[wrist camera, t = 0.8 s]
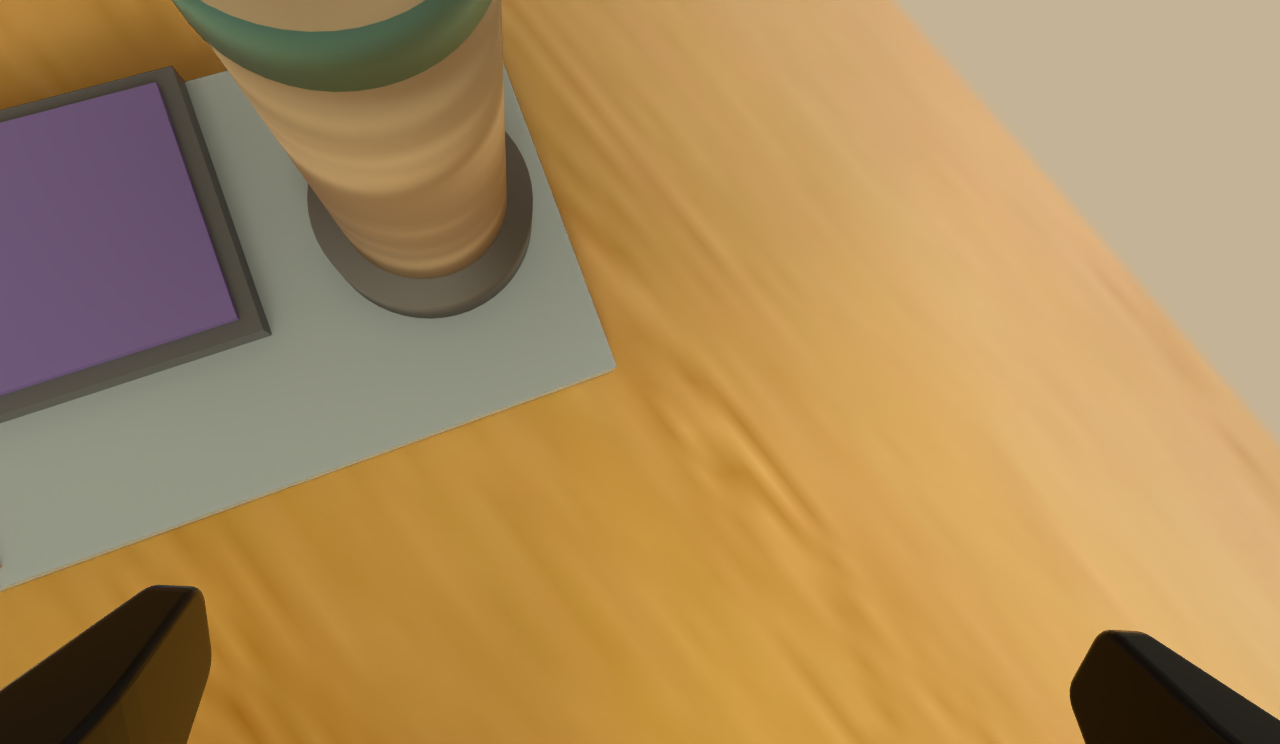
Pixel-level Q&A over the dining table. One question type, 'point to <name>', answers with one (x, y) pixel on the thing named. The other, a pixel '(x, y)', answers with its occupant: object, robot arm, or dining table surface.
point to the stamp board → (221, 323)
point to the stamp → (389, 137)
